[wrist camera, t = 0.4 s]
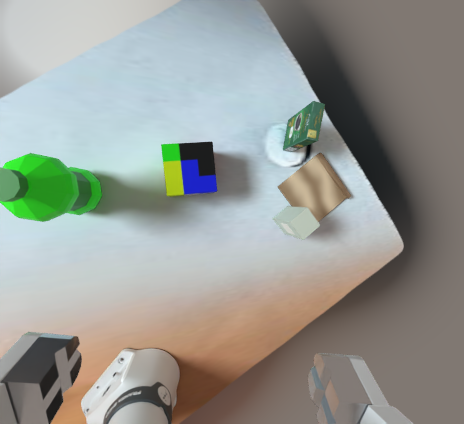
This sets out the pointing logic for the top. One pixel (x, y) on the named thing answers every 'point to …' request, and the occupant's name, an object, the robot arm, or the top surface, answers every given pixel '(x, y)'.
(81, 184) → the plastic bottle
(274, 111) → the top surface
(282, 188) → the board
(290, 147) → the coffee box
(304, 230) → the pale green box
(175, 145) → the puzzle toy
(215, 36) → the top surface
